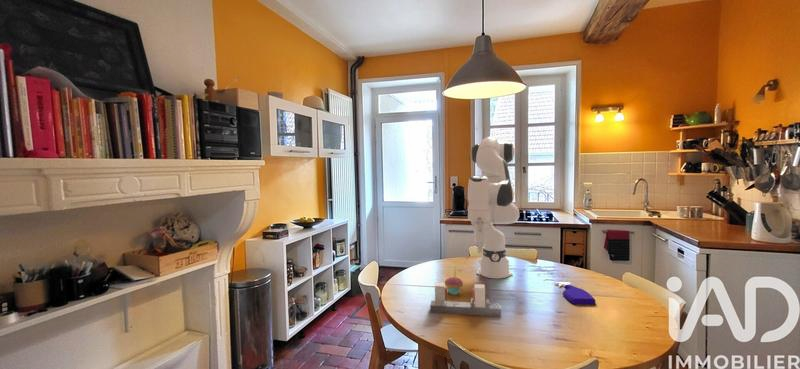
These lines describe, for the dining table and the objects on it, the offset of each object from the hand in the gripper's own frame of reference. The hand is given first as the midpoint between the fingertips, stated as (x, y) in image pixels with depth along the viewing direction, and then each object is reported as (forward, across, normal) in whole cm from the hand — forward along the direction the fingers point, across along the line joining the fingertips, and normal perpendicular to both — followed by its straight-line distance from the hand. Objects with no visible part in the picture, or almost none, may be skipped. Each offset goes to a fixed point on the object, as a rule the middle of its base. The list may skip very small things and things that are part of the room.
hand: (479, 249), depth 139 cm
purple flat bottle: (+27, +22, -42) cm, 55 cm away
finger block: (+22, -3, 0) cm, 23 cm away
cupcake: (+26, +17, +11) cm, 33 cm away
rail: (+25, -3, +6) cm, 26 cm away
